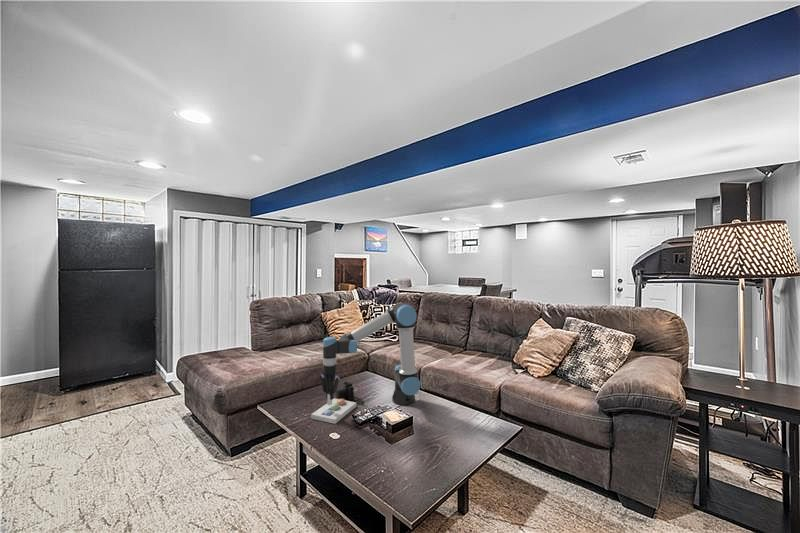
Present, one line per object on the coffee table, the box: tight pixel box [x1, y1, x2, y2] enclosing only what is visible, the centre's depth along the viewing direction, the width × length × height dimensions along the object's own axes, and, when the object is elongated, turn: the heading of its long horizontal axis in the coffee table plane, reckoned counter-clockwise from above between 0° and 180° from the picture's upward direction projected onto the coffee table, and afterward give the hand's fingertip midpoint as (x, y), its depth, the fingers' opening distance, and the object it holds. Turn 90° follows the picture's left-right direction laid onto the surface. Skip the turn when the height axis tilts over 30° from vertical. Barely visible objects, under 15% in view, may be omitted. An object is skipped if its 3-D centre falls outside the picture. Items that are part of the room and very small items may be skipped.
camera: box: [335, 380, 355, 402], centre depth 220 cm, size 14×11×10 cm
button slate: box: [324, 410, 332, 416], centre depth 194 cm, size 5×5×3 cm
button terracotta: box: [337, 399, 345, 406], centre depth 207 cm, size 5×5×3 cm
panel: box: [310, 397, 357, 424], centre depth 200 cm, size 16×24×2 cm, turn 158°
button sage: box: [331, 403, 339, 411], centre depth 200 cm, size 5×5×3 cm
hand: (329, 404), depth 195 cm, fingers closed
